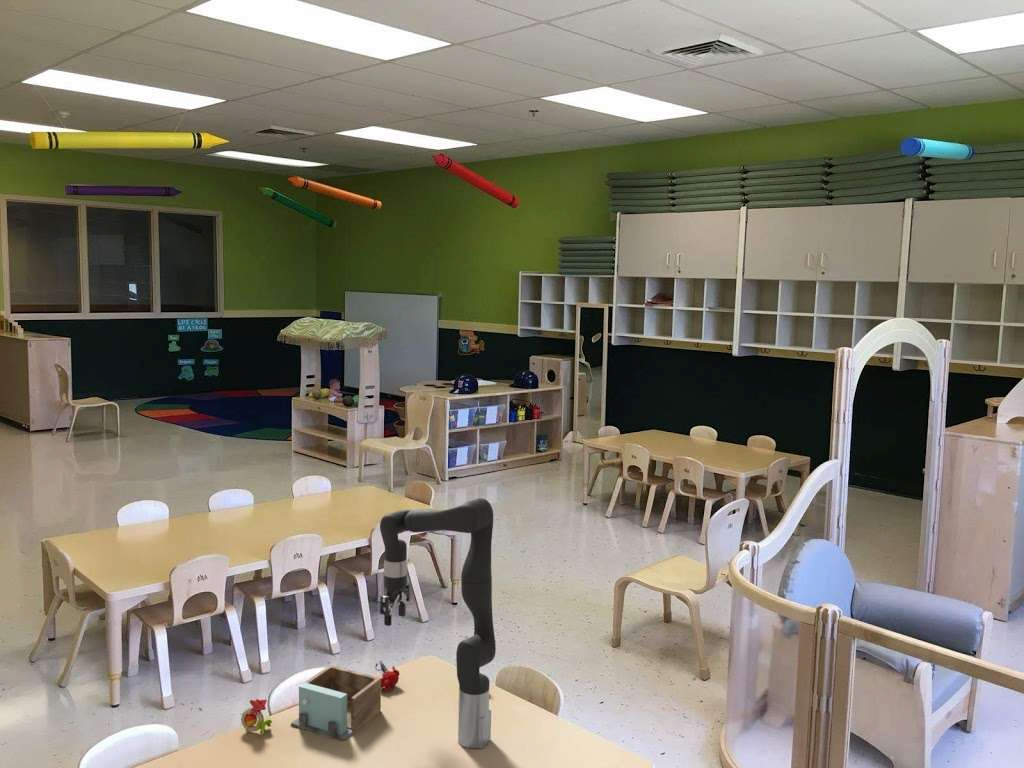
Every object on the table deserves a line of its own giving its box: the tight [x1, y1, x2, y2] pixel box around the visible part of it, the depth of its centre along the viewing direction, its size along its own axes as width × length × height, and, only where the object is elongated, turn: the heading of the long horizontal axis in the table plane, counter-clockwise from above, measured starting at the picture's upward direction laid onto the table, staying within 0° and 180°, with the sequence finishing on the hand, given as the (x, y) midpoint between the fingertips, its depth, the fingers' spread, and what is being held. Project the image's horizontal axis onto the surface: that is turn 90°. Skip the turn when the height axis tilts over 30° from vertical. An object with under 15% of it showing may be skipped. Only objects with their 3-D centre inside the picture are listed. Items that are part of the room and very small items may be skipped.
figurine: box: [374, 660, 400, 693], centre depth 298 cm, size 6×8×15 cm
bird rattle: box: [240, 699, 273, 737], centre depth 264 cm, size 6×11×9 cm
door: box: [298, 682, 347, 735], centre depth 267 cm, size 16×4×12 cm, turn 66°
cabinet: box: [290, 665, 382, 742], centre depth 274 cm, size 20×21×11 cm
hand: (395, 620), depth 278 cm, fingers open, 8 cm apart
